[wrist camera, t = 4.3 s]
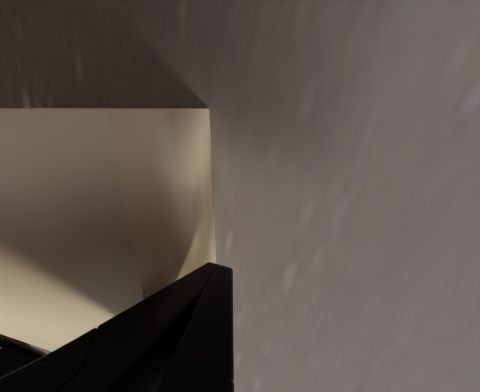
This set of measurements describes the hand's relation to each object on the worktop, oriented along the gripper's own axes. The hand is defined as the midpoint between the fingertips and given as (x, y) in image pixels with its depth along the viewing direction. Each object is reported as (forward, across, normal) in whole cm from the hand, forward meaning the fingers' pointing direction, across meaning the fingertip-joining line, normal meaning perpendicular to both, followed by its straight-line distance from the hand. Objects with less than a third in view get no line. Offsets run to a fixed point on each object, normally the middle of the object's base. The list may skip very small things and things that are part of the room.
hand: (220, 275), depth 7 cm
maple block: (+3, +5, 0) cm, 6 cm away
